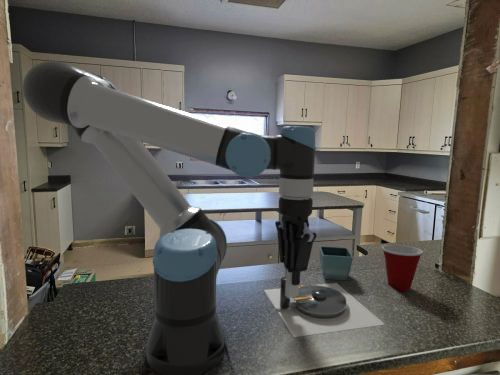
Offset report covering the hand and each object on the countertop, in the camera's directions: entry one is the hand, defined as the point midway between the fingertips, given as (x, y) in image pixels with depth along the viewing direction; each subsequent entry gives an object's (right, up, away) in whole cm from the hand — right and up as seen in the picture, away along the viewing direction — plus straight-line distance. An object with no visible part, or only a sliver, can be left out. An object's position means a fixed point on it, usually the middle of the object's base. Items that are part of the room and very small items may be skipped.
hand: (291, 295), depth 76 cm
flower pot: (+16, -3, +24) cm, 29 cm away
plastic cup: (+34, -4, +19) cm, 39 cm away
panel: (+7, -5, +5) cm, 11 cm away
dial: (+6, -4, +5) cm, 8 cm away
